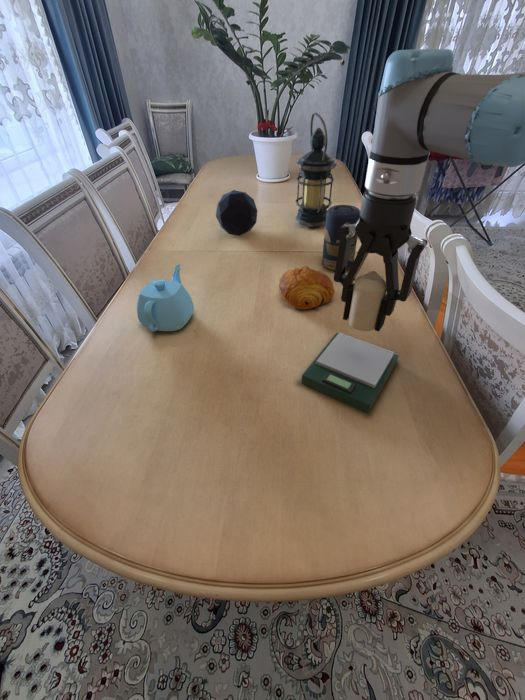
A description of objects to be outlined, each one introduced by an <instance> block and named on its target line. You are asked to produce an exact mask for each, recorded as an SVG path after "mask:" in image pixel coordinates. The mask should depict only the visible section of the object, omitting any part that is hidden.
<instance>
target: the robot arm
mask: <svg viewBox="0 0 525 700" xmlns="http://www.w3.org/2000/svg"><path fill="white" fill-rule="evenodd" d="M454 61H455V54H454V51H453V50H452V49H450V48H449V49H448V48H447V49H444V48H443V49H442V48H421V49H416V48H415V49H399V50H395V51H393V52H392V53H391V54H390V55H389V56H388V58H387V60H386V63H385V66H384V70H383V75H382V79H381V84H380V88H379V92H378V94H377V105H376V113H375V120H374V128H373V135H372V140H371V147H370V152H369V157H368V162H367V163H368V164H367V167H366V175H365V182H364V187H365V189H366V190H365V191H363V193H362V198H361V199H362V200H361V204H360V209H359V210H360V218H359V220H358V222H357V223H356V224H350V223H345V224H344V225H343V226H342V227H340V228H339V230H338V233H339V239H340V244H339V249H338V255H337V261H336V267H335V270H334V273H333V281H334V282H335V283H339V284H340V285H342V289H341V290H342V291H341V297H340V300H341V302H343V303H345V304H344V308H343V309H344V310H343V315H342V316H343V317H342V320H343V321H348V318H349V312H350V306H351V301H352V295H353V289H354V283H355V280H356V278H357V277H358V274H359V272H360V270H361V268H362V266H363V264H365V263H364V262H365V261H366V259H367V257H368V255H369V254H376V255H378V256H381V257H382V260H383V264H384V271H385V272H384V273H385V274H384V275H385V280H386V288H387V291H386V295H385V297H384V298H383V299H382V302H381V307H380V311H379V315H378V319H377V323H376V327H375V329H374V331H375V332H380V331H381V329H382V328H383V326H384V325H385V322H386V318H387V316H388V317H390V316H391V315H392V314H393V312H394V311H395V307H396V305H397V301H400V302H403V303H404V302H406V301H407V299H408V298H409V296H410V295H411V293H412V290H413V285H414V282H415V278H416V274H417V270H418V265H419V262H420V258H421V254H422V252H423V251H424V250H425V249H426V248H427V246H428V243H429V242H428V239H426V238H421V239H419V238H418V237H416V236H414V235H412V228H411V224H412V220H413V216H414V212H415V209H416V205H417V201H418V195H417V193H419V191H420V190H421V187H422V184H423V180H424V179H423V178H424V175H425V171H426V168H427V164H428V160H429V155H430V153H431V152H433V153H437V154H441V155H445V156H450V157H454V158H457V159H461V160H462V159H463V160H466V161H469V162H474V163H476V164H479V165H482V166H487V167H488V166H497V167H504V168H515V167H518V166H521V165H523V164H525V72H514V73H505V74H504V73H503V74H479V73H478V74H475V73H474V74H473V73H472V74H467V73H466V74H465V73H464V74H462V73H460V72H459V73H458V72H454V67H453V66H454ZM355 232H356V233H357V236H358V240H359V242H360V246H359V249H358V251H357V253H356V256H355V257H354V262H353V264H352V266H351V267H350V268H349V269H348V272H347V269H346V268H347V263H348V258H349V253H350V248H351V243H352V237H353V236H354V235H355ZM405 244H407V252H408V254H409V255H408V258H407V260H406V265H405V268H404V274H403V278H402V283H401V287H400V283H399V282H400V281H399V263H398V258H399V257H398V256H399V249H401V247H403V246H404V245H405Z"/></svg>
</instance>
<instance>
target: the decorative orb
mask: <svg viewBox="0 0 525 700" xmlns="http://www.w3.org/2000/svg"><path fill="white" fill-rule="evenodd" d="M256 205H257V204H256V202H255V199H254V198H253V197H252V196H250V195H249V194H248V193H247V192H245V191H241V190H235V189H232V190H231V191H228V192H226V193H223V195H221V197H220V199H219V201H218V202H217V204H216V211H215V212H216V213H215V217H216V219H217V222H218V224H219V226H220V228H221V229H222V230H224V231H225V232H226V233H227V234H228V235H234V236H238V237H240V236H242V235H244V234H247V233H249V232H250V231H251V230H252V229H253V228H254V226H255V225H256V224H257V220H258V208H257V206H256Z"/></svg>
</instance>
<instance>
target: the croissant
mask: <svg viewBox="0 0 525 700" xmlns="http://www.w3.org/2000/svg"><path fill="white" fill-rule="evenodd" d="M278 289H279V291H280V294H281V296H282V298H283V299H284V301H285V302H286V303H287V304H288V305H289V306H290V307H292V308H295V309H298V310H308V309H312V308H317V307H318V306H322V305H325V304H327V303H328V302H330V300H331V298H332V297H333V295H335V287H334V283H333V280H332V279H331V278H330V277H329V276H328V275H327V274H325V273H323V272H322V271H320V270H317V269H313V268H310V267H309V266H301V267H293V268H291V269H288V270H286V271H284V272H283V274H282V275H281V276H280V277H279V283H278Z"/></svg>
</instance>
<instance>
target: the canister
mask: <svg viewBox="0 0 525 700" xmlns="http://www.w3.org/2000/svg"><path fill="white" fill-rule="evenodd" d="M326 210H327V214H326V223H325V224H324V225H325V227H324V237H323V246H322V259H321V263H322V265H323V266H324V267H325V268H327V269H328V270H331V271H335V267H336V261H337V255H338V249H339V244H340V239H339V233H338V230H339V228H340V227H342V226H343V225H344V224H345V223H350V224H356V223H357V222H358V220H359V218H360V210H361V209H360V208H359V207H356V206H355V205H351V204H336V205H333V206H332V205H331V206H329V208H327V209H326ZM358 240H359V238H358V236H357V233H356V232H355V235H354V236H353V237H352V243H351V248H350V253H349V258H348V263H347V268H346V270H350V268H351V266H352V264H353V262H354V260H355V258H356V256H355V255H356V249H357V243H358Z"/></svg>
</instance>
